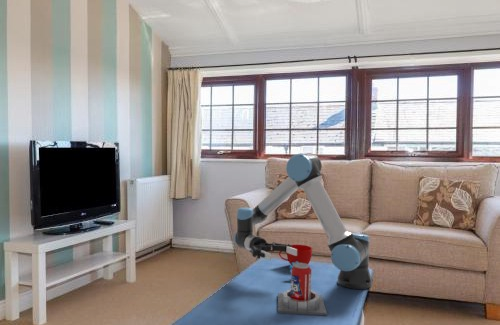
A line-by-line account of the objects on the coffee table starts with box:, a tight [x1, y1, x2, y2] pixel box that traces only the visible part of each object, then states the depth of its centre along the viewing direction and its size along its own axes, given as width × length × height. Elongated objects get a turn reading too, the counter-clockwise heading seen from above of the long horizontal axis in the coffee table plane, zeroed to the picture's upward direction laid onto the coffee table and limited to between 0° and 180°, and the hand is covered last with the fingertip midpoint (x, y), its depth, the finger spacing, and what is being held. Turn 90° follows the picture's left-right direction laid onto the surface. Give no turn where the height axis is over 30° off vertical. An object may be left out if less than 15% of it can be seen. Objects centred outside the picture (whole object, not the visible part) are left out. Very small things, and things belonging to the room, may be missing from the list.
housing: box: [277, 288, 328, 316], centre depth 165 cm, size 18×18×4 cm
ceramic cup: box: [278, 244, 313, 267], centre depth 214 cm, size 13×17×10 cm
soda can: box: [290, 263, 312, 300], centre depth 164 cm, size 8×8×15 cm
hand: (283, 254), depth 175 cm, fingers open, 13 cm apart
